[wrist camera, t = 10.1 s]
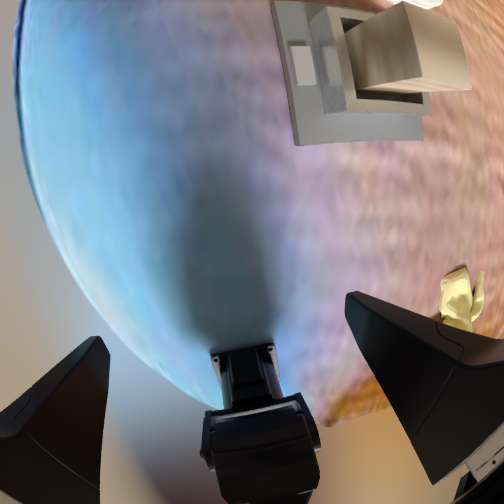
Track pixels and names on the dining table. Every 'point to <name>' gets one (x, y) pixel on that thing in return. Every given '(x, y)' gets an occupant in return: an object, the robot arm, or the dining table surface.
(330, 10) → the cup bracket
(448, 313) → the cloth
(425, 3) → the white thick disc
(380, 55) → the wooden block
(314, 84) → the plate
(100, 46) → the dining table surface
